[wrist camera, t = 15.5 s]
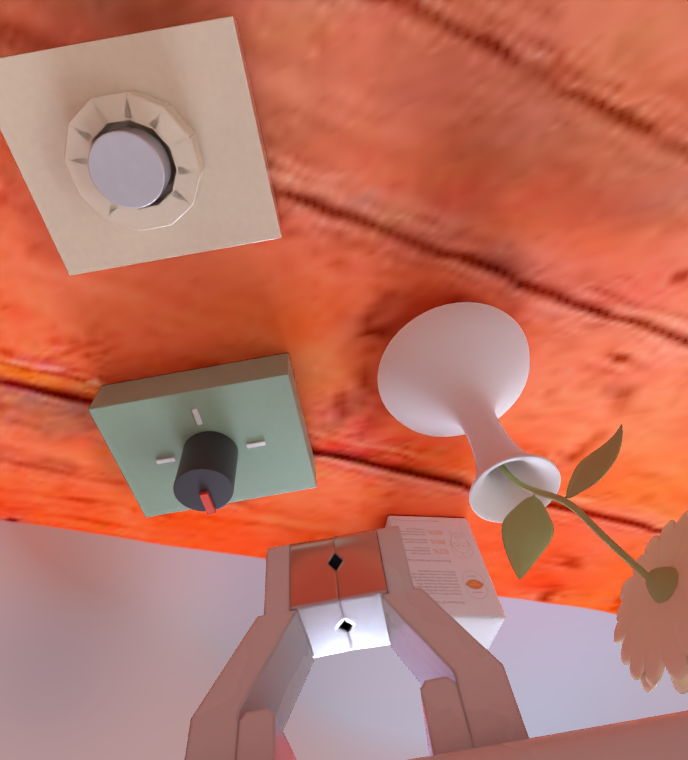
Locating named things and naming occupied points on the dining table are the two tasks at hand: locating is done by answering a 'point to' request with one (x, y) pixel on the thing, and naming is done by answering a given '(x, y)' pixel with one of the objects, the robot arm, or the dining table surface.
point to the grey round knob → (129, 167)
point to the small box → (452, 572)
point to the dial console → (208, 428)
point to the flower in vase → (530, 469)
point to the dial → (206, 472)
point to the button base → (160, 119)
